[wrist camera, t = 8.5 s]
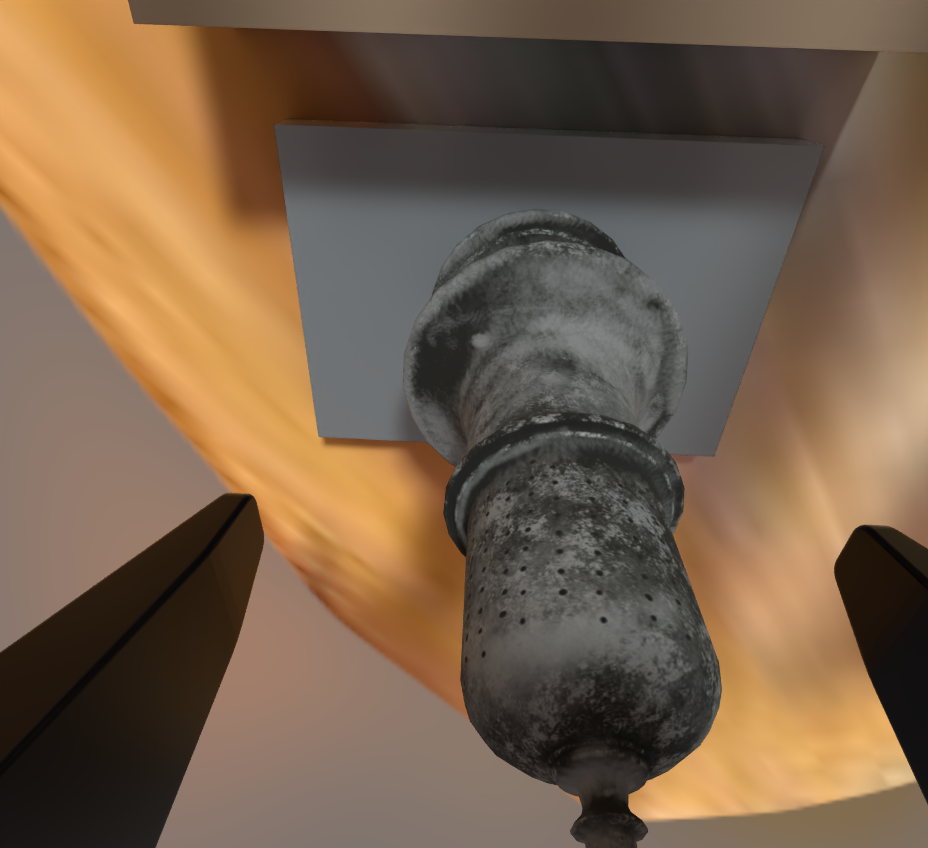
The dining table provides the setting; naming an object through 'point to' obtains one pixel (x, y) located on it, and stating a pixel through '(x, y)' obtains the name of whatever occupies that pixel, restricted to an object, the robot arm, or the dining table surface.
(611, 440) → the grey turned upright piece
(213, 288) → the dining table surface
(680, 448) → the slate pad
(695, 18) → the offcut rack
